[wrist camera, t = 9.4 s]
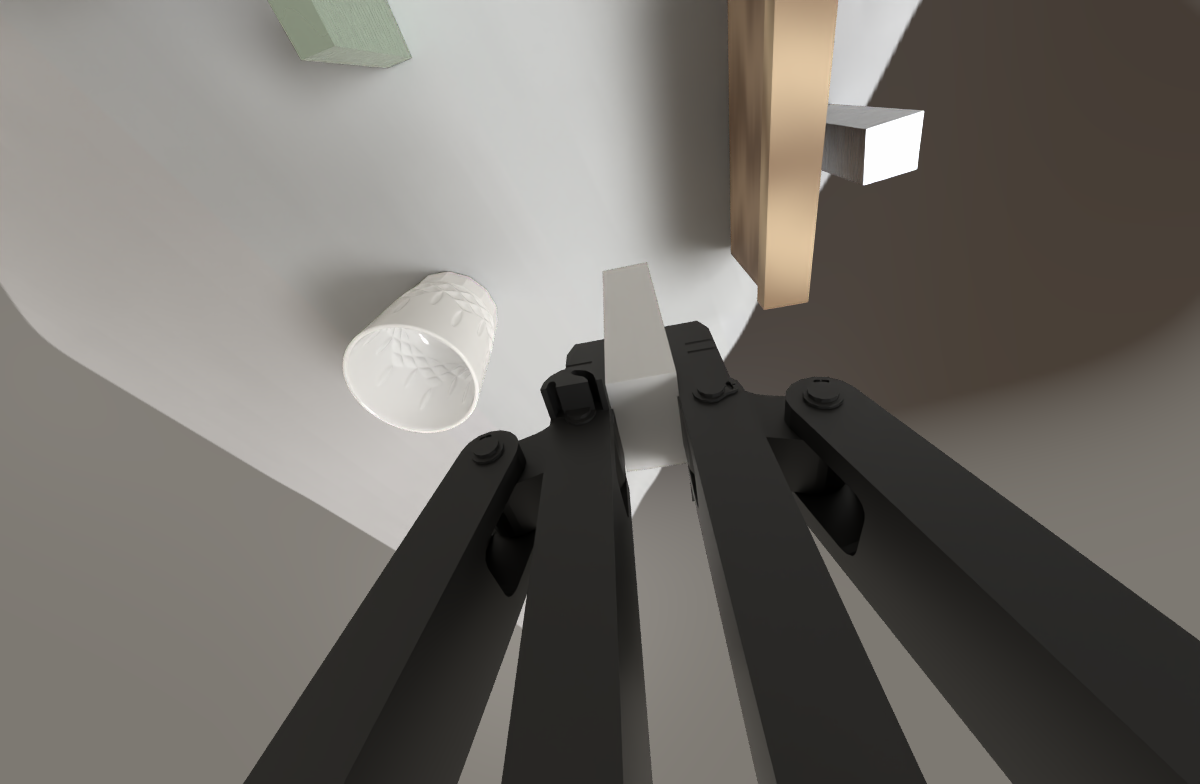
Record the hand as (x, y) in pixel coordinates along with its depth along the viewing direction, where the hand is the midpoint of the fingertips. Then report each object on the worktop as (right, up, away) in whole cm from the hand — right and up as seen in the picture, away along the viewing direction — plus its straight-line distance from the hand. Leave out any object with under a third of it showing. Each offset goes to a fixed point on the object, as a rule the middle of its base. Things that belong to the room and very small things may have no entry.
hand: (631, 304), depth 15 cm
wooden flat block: (+8, +13, +11) cm, 19 cm away
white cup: (-12, +3, +19) cm, 23 cm away
